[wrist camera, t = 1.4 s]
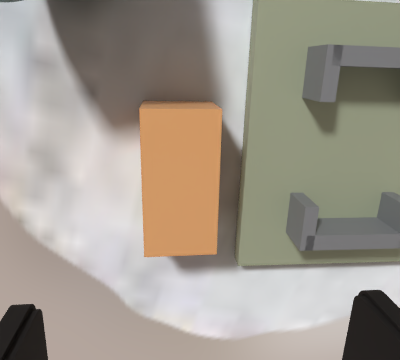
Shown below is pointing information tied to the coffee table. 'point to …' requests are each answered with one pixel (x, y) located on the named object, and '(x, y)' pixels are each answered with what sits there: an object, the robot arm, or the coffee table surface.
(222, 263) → the coffee table surface
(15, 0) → the flower pot
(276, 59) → the green bracket base plate
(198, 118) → the tall tan rectangular prism
